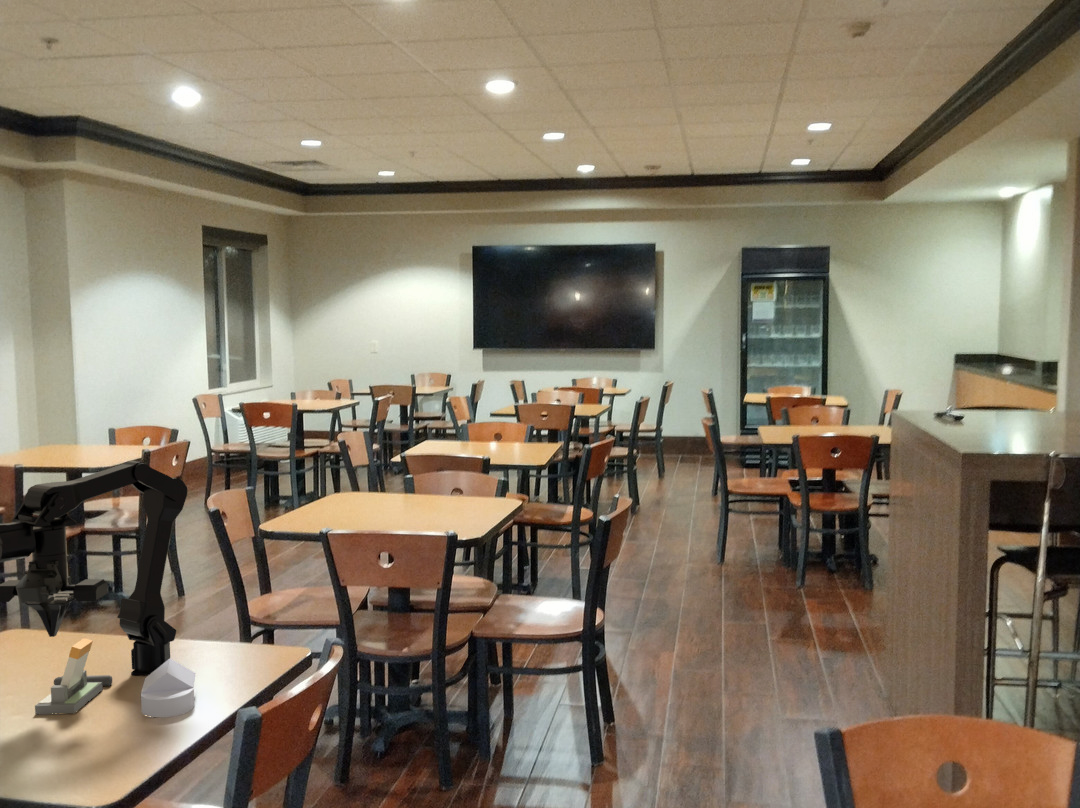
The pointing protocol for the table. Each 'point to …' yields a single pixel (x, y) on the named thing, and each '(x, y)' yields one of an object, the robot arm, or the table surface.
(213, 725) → the table surface
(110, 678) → the grey double capsule
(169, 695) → the wedge on round base
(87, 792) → the table surface
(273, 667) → the table surface
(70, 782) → the table surface
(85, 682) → the panel
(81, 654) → the lever
